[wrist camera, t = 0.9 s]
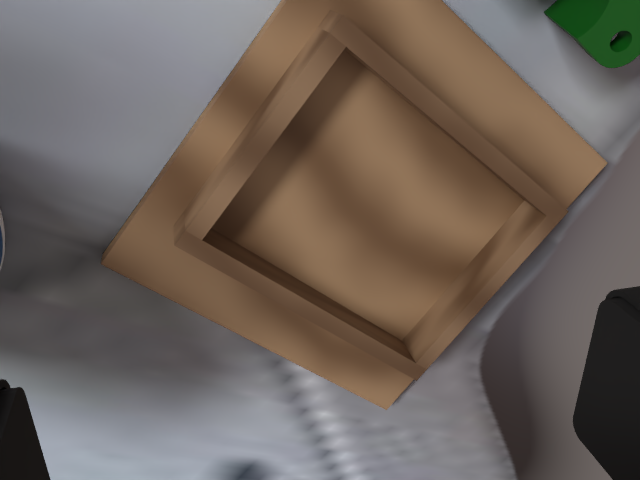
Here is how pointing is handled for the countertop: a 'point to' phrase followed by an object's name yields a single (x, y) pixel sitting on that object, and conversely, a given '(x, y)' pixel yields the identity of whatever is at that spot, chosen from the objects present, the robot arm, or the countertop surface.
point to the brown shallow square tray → (356, 190)
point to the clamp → (601, 28)
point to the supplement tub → (2, 240)
